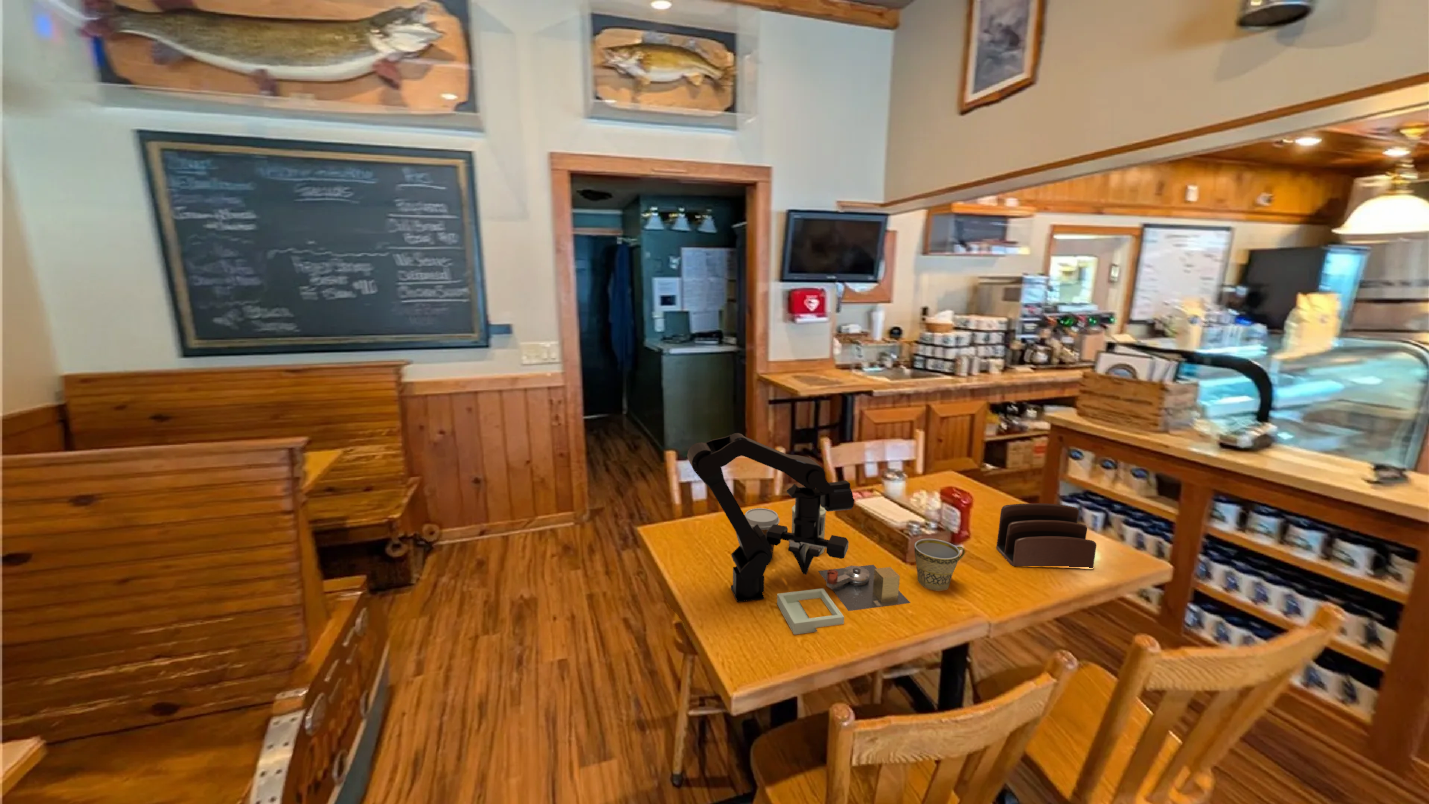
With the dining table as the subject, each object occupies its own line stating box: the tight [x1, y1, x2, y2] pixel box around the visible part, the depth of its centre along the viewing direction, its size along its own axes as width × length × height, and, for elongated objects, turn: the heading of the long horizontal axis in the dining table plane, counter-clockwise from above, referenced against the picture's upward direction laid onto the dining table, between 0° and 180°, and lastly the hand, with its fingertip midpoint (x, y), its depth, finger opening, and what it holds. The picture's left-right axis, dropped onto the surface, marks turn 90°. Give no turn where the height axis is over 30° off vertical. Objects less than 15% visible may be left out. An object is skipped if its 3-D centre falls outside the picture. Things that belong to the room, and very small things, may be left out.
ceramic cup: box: [913, 538, 966, 592], centre depth 126 cm, size 13×10×10 cm
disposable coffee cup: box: [744, 507, 780, 557], centre depth 140 cm, size 10×10×12 cm
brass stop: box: [873, 566, 901, 602], centre depth 121 cm, size 4×4×6 cm
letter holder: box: [995, 502, 1097, 569], centre depth 138 cm, size 10×20×14 cm, turn 86°
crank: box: [825, 565, 869, 590], centre depth 126 cm, size 12×6×4 cm, turn 122°
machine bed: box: [818, 564, 911, 612], centre depth 125 cm, size 15×17×2 cm
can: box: [791, 504, 827, 557], centre depth 144 cm, size 9×9×12 cm
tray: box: [776, 588, 845, 636], centre depth 115 cm, size 11×11×3 cm
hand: (804, 573), depth 126 cm, fingers closed
